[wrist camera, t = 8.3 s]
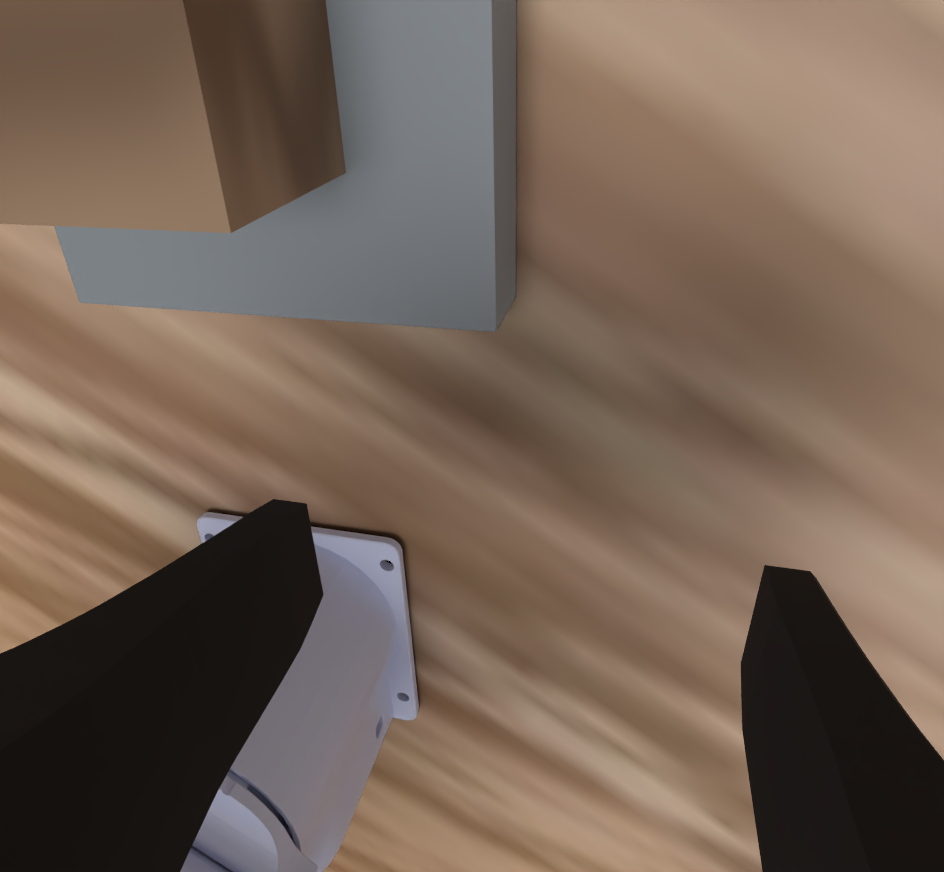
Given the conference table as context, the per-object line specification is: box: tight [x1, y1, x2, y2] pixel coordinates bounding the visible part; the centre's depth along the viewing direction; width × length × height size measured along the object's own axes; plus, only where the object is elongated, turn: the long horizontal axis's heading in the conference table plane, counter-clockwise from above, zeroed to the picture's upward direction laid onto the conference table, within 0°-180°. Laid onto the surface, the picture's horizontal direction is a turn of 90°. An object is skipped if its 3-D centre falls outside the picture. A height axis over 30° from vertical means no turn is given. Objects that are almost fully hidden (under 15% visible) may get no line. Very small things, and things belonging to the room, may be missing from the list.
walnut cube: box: [0, 0, 346, 233], centre depth 13 cm, size 5×5×5 cm
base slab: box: [54, 0, 516, 332], centre depth 17 cm, size 12×12×2 cm
